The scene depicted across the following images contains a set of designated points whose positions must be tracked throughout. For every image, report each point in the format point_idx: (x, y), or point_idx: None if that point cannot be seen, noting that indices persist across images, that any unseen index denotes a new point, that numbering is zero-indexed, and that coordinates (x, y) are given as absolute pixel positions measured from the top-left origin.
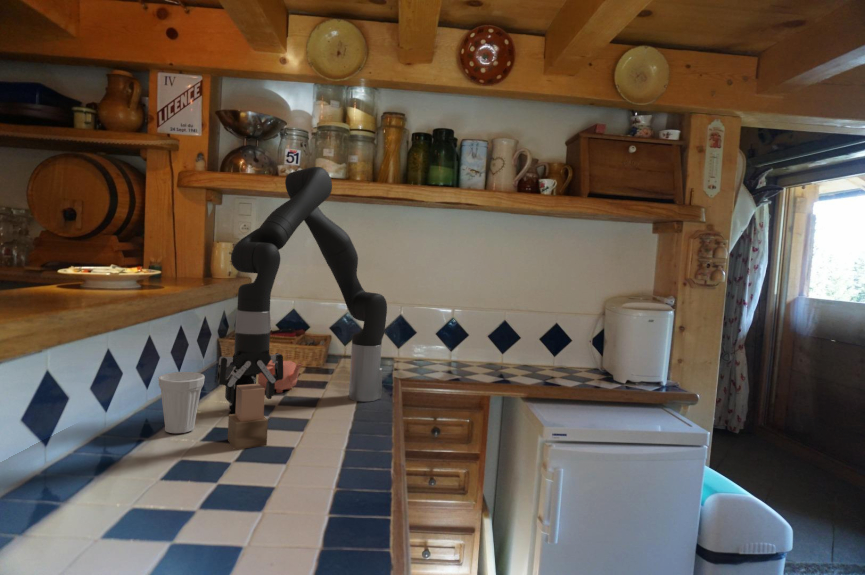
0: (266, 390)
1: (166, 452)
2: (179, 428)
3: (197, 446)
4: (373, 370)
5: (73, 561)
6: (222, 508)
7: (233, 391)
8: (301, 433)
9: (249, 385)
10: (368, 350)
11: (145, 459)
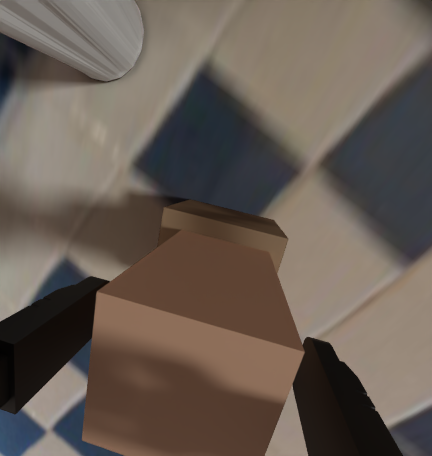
0: (320, 378)
1: (47, 197)
2: (81, 71)
3: (112, 202)
4: None
5: None
6: (75, 448)
7: (47, 378)
8: (386, 279)
9: (194, 354)
10: None
11: (7, 211)
